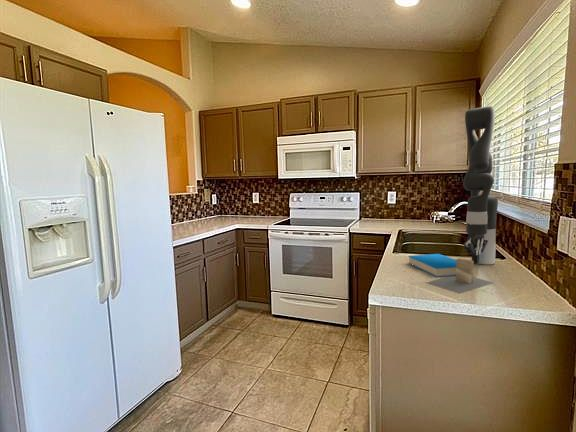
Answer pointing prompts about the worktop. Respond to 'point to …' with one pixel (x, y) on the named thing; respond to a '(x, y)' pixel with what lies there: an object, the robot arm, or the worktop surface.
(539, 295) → the worktop surface
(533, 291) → the worktop surface
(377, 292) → the worktop surface
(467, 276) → the tile
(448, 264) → the book
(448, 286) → the mat
